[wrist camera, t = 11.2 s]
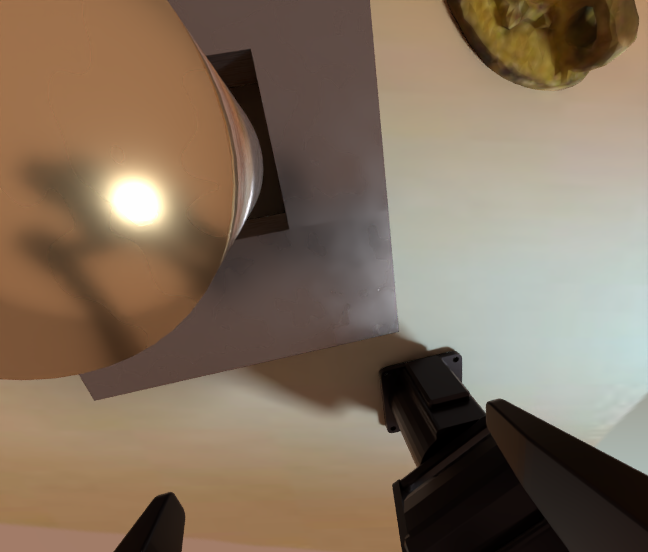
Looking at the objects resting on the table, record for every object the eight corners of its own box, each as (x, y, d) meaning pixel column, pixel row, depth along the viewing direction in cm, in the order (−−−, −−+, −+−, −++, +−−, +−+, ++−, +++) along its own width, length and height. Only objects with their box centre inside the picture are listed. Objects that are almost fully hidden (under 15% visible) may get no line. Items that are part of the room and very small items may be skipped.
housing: (372, 294, 21) (398, 331, 16) (137, 344, 20) (94, 400, 15) (324, -104, 14) (348, -243, 9) (-55, -58, 12) (-253, -188, 8)
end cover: (278, 227, 12) (278, 330, 5) (129, 256, 12) (-132, 420, 4) (239, 53, 10) (120, -272, 3) (54, 82, 10) (-742, -203, 2)
